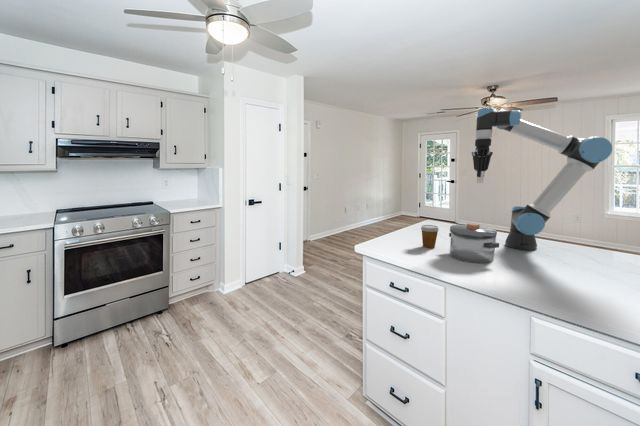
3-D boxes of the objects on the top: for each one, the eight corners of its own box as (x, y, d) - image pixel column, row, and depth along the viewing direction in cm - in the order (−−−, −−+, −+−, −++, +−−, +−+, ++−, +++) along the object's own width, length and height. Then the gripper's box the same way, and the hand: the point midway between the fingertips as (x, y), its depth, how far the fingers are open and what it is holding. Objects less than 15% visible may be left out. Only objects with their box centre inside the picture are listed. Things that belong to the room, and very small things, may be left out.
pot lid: (471, 227, 163) (472, 219, 162) (506, 236, 144) (507, 227, 143) (440, 229, 156) (441, 221, 155) (473, 239, 137) (474, 229, 136)
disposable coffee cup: (435, 245, 174) (436, 224, 172) (439, 249, 165) (441, 228, 163) (418, 244, 175) (419, 224, 173) (422, 249, 166) (423, 228, 164)
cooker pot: (468, 248, 168) (470, 227, 166) (510, 261, 144) (513, 237, 142) (437, 252, 160) (439, 230, 158) (476, 267, 137) (478, 241, 135)
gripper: (486, 139, 165) (482, 182, 169) (468, 138, 160) (465, 183, 164) (498, 138, 158) (494, 183, 162) (480, 137, 154) (476, 183, 157)
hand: (479, 183), depth 163 cm, fingers closed
